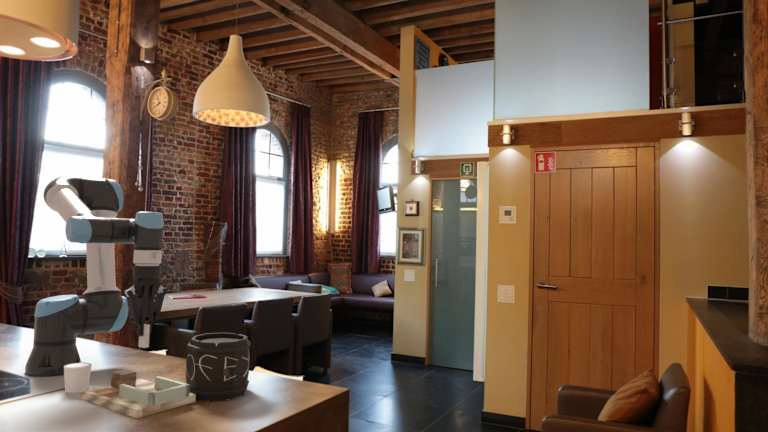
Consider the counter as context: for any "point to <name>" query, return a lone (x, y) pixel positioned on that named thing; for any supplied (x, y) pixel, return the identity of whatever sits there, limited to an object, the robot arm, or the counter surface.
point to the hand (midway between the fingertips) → (143, 346)
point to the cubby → (167, 392)
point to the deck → (113, 401)
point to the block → (123, 378)
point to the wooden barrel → (218, 365)
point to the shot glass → (77, 377)
